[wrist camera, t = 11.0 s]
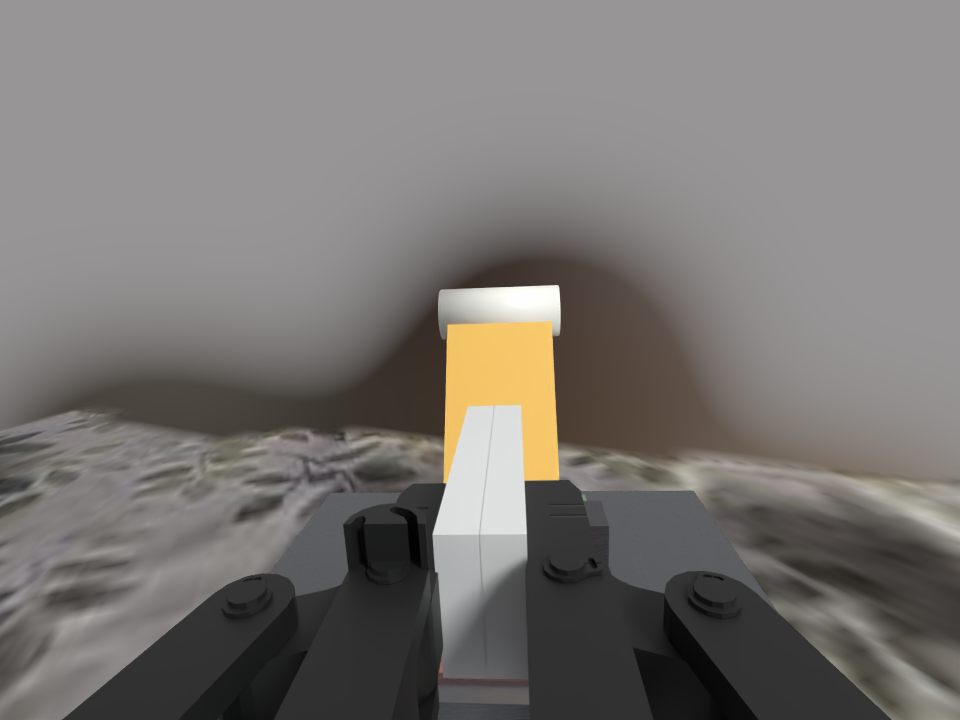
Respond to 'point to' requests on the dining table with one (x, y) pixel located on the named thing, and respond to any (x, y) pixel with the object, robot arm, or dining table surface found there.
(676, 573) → the switch panel
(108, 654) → the dining table surface
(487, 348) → the lever
